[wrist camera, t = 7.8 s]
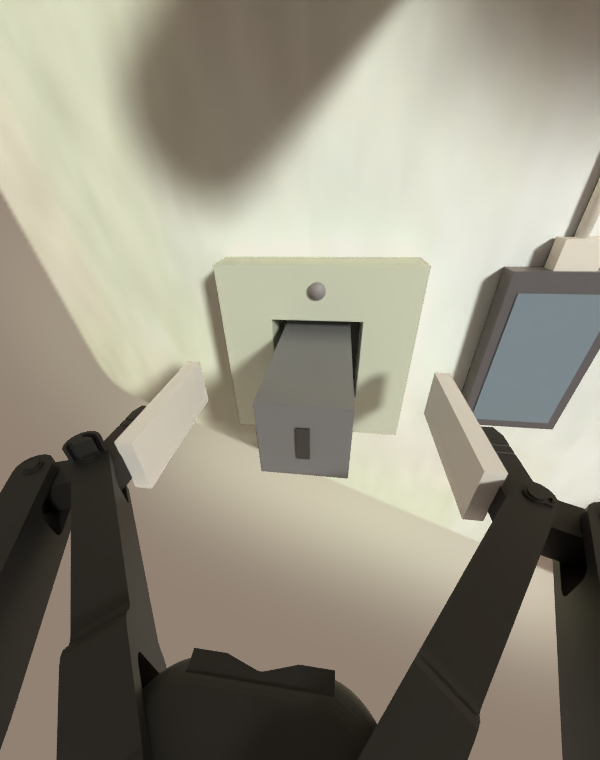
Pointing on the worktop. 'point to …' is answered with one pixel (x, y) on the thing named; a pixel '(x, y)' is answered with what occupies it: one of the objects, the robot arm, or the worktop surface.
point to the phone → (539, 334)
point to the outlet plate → (325, 303)
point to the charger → (307, 401)
